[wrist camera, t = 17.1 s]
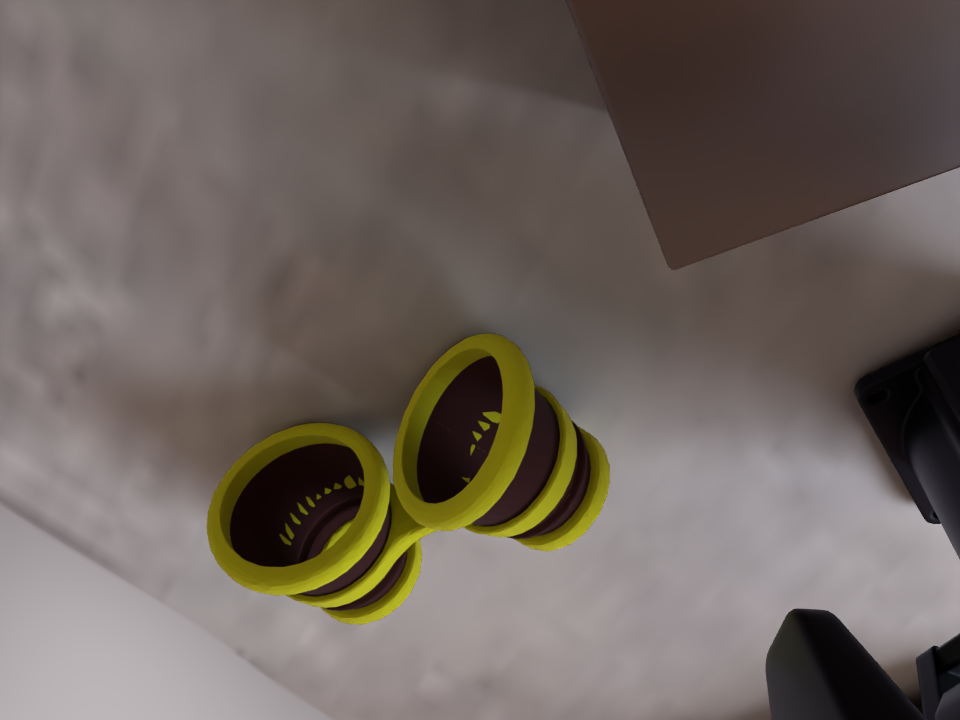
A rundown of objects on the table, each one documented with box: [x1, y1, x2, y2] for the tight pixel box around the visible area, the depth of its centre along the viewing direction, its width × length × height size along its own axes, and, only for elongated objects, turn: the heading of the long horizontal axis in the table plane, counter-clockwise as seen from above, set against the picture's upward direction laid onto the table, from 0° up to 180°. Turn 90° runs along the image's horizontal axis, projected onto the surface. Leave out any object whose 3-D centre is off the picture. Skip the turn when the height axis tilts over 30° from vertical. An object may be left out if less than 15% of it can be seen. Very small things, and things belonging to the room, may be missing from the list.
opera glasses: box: [207, 333, 610, 624], centre depth 24 cm, size 10×5×5 cm, turn 122°
